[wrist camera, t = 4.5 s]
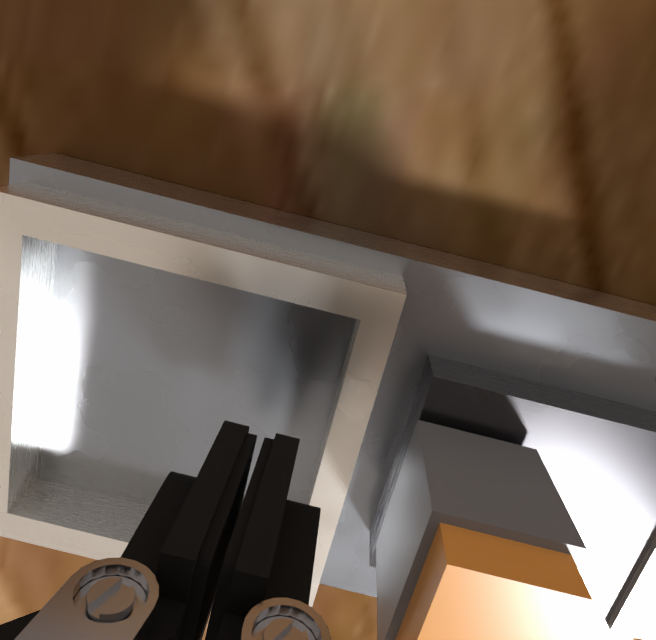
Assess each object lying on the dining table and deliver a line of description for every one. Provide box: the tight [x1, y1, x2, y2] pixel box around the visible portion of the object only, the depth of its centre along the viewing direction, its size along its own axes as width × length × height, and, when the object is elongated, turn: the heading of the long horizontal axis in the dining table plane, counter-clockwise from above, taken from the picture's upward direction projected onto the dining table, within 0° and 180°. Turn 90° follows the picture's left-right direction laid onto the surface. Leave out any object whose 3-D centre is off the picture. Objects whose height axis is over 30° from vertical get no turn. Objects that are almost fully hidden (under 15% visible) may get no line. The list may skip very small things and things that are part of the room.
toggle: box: [376, 420, 592, 640], centre depth 12 cm, size 3×4×4 cm
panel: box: [0, 153, 656, 640], centre depth 15 cm, size 19×10×4 cm, turn 76°
